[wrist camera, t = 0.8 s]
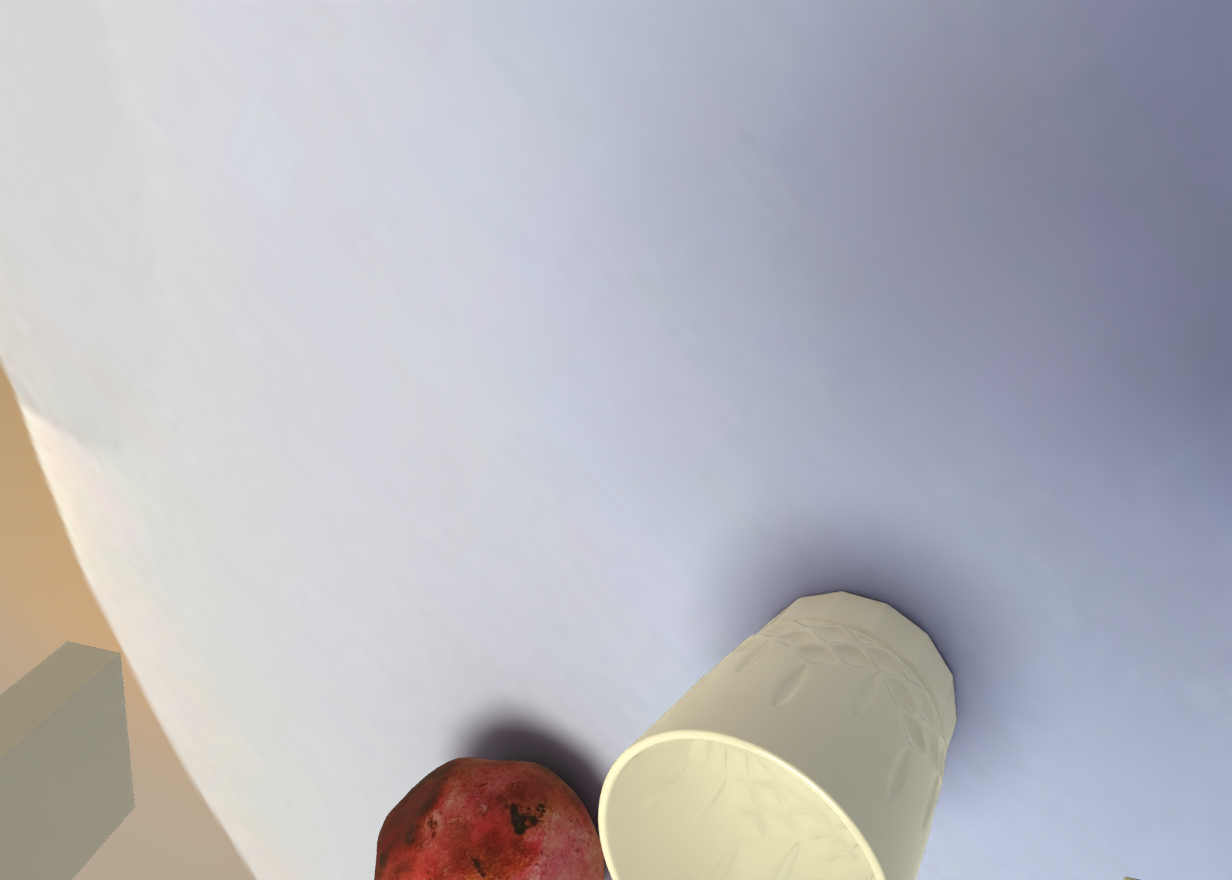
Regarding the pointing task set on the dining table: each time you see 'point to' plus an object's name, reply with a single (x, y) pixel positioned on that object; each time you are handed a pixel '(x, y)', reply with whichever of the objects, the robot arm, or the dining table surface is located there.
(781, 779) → the white cup
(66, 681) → the robot arm
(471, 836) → the fruit
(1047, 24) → the dining table surface
